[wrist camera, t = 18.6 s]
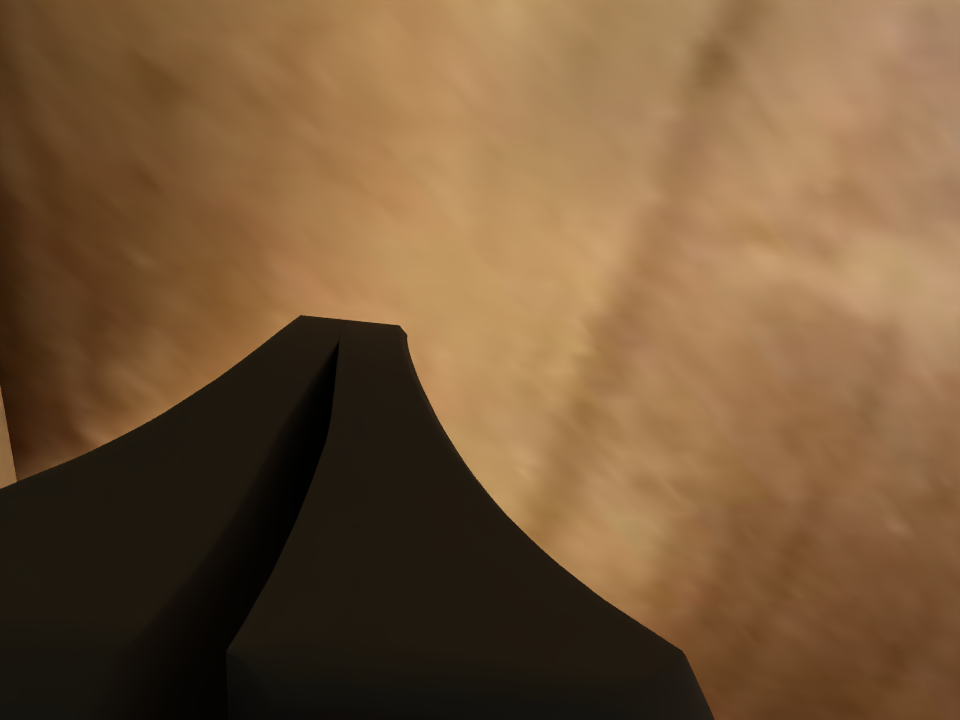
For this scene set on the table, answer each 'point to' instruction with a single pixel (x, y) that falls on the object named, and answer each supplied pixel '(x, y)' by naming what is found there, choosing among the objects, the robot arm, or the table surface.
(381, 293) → the table surface
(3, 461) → the drawer
